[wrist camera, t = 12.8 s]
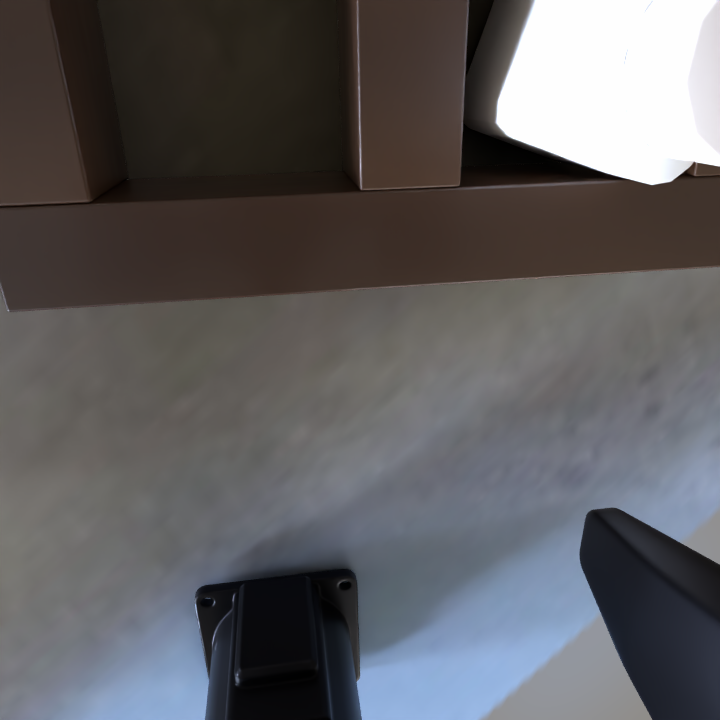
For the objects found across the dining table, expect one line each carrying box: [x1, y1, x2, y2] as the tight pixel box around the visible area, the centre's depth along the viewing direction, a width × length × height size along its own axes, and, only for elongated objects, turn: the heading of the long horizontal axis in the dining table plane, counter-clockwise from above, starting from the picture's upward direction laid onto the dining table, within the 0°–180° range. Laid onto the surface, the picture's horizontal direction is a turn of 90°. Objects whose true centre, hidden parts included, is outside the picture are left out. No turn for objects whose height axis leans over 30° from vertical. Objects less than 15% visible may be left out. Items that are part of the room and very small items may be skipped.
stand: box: [0, 0, 720, 312], centre depth 15 cm, size 11×20×4 cm, turn 91°
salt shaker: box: [463, 0, 720, 185], centre depth 13 cm, size 4×4×10 cm
